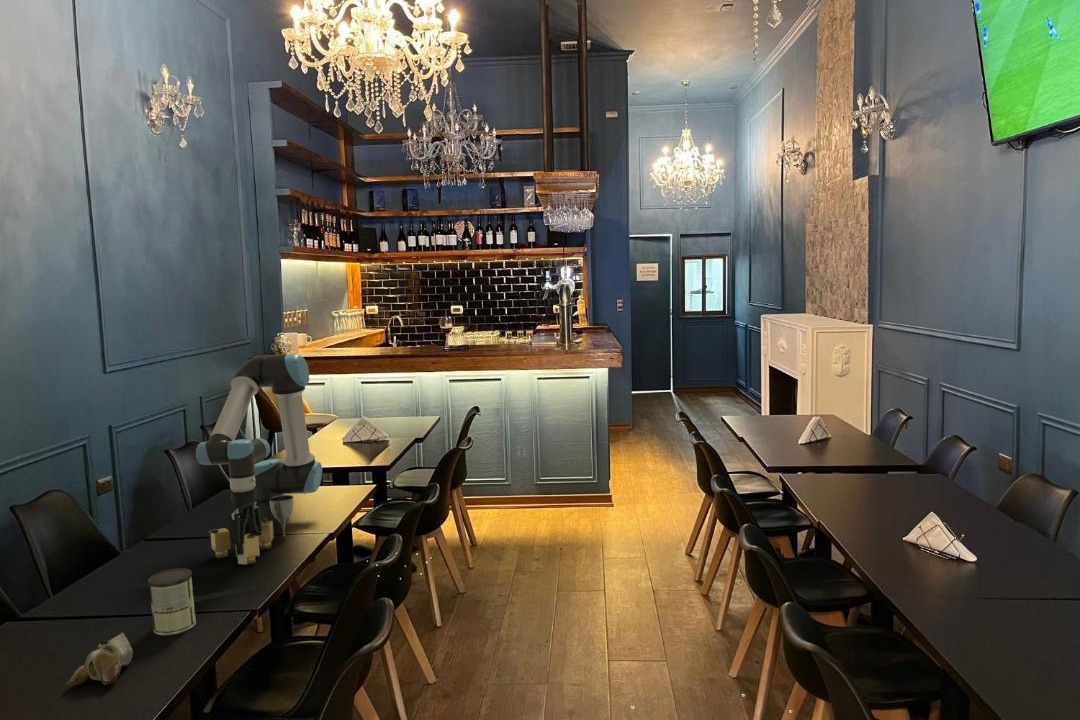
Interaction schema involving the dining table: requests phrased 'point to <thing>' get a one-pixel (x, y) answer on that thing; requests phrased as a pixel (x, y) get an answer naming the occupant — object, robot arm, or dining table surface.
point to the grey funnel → (282, 508)
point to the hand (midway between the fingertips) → (249, 559)
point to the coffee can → (172, 601)
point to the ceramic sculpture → (104, 661)
